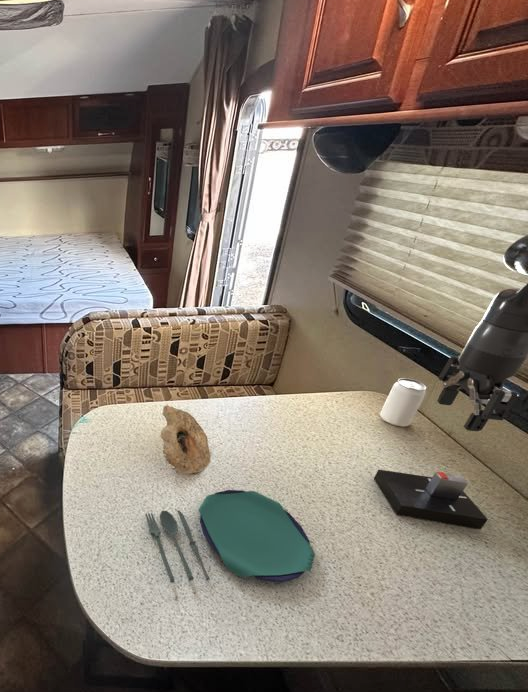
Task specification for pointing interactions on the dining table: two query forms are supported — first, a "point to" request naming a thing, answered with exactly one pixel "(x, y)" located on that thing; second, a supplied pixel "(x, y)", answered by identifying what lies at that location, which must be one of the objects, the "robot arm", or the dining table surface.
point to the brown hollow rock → (184, 441)
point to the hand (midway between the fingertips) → (456, 416)
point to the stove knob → (446, 485)
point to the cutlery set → (245, 536)
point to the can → (403, 402)
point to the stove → (426, 501)
